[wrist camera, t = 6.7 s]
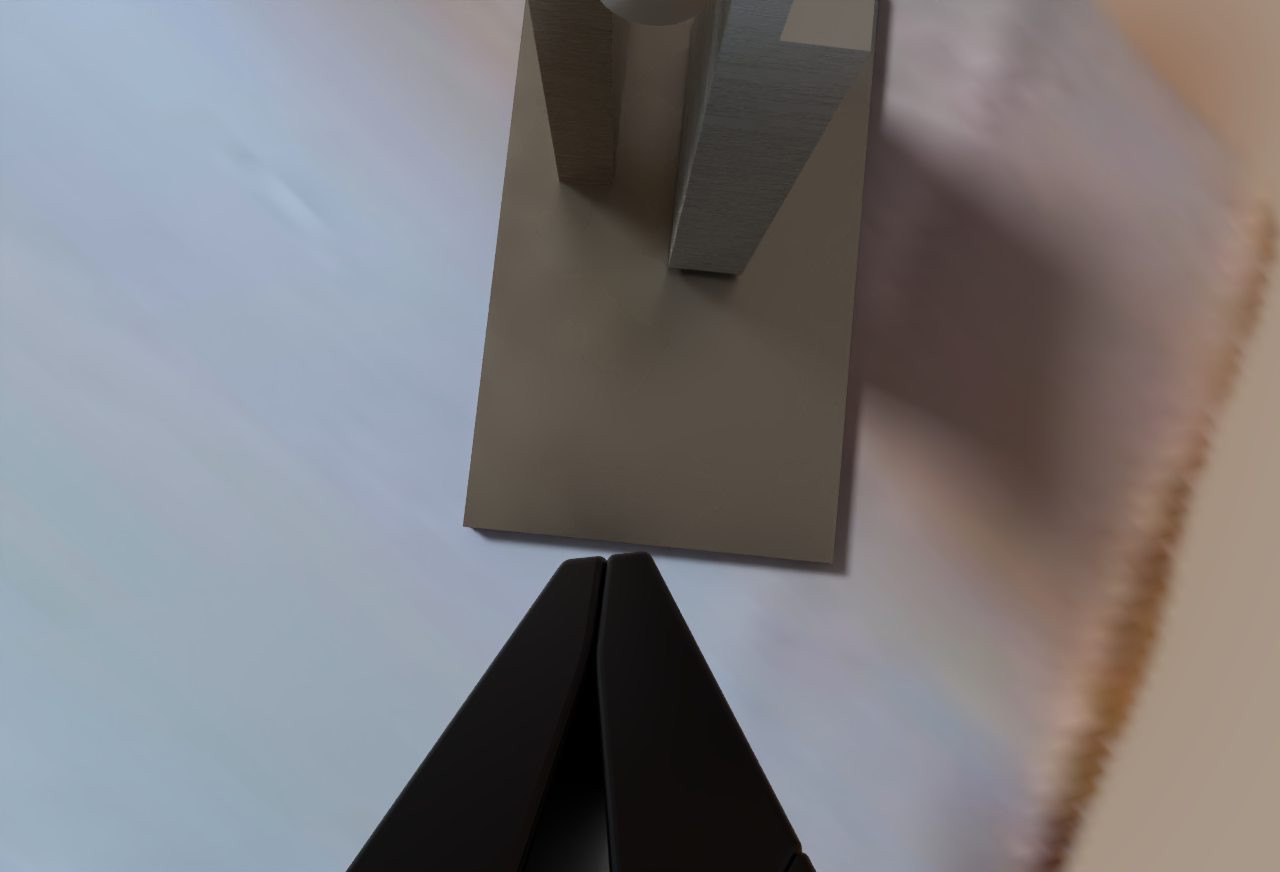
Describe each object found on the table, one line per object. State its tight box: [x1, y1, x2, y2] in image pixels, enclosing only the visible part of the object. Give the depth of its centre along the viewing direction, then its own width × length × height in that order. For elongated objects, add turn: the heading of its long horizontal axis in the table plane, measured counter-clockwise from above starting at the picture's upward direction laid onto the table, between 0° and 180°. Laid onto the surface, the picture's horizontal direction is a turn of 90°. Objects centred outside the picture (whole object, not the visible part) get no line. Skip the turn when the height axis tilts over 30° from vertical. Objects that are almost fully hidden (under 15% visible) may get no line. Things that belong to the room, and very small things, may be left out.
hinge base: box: [463, 0, 879, 564], centre depth 12 cm, size 14×8×12 cm, turn 174°
